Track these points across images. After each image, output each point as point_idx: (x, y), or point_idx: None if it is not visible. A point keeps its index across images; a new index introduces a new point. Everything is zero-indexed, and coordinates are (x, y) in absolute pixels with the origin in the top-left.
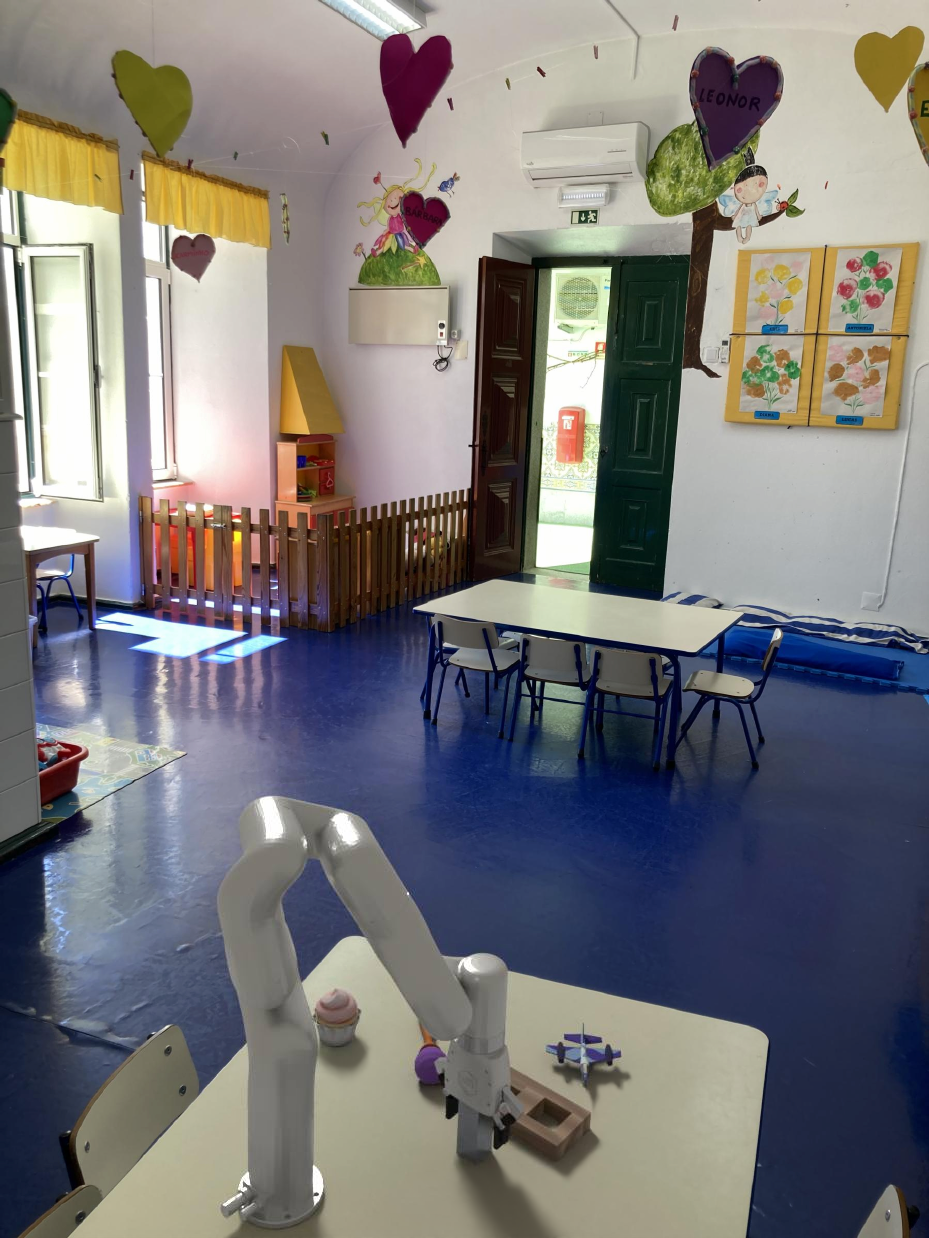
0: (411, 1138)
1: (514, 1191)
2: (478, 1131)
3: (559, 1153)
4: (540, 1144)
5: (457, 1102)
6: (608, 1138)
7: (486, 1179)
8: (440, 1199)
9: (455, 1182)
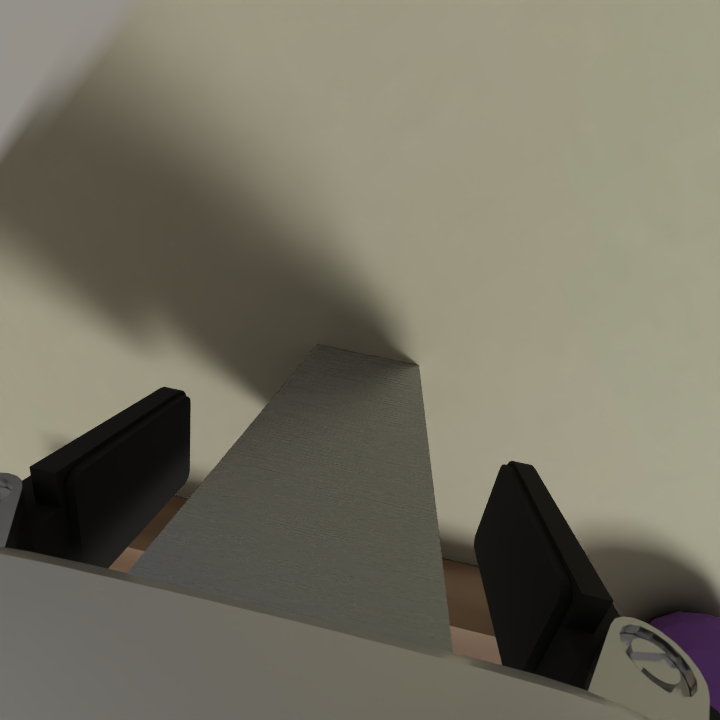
0: (644, 339)
1: (132, 305)
2: (253, 427)
3: None
4: (154, 518)
5: (501, 580)
6: None
7: (245, 302)
8: (347, 72)
9: (340, 215)
